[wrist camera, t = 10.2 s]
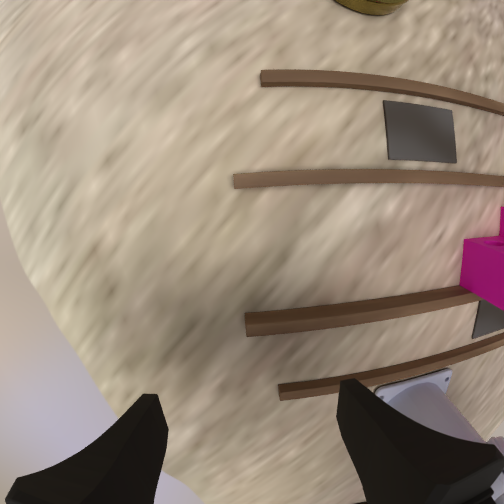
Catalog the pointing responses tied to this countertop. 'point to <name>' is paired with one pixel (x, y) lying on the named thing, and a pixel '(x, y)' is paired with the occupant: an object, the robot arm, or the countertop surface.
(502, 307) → the magenta curved bracket
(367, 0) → the gold tapered round piece
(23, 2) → the countertop surface
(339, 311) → the wooden slat rack
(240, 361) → the countertop surface
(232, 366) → the countertop surface
